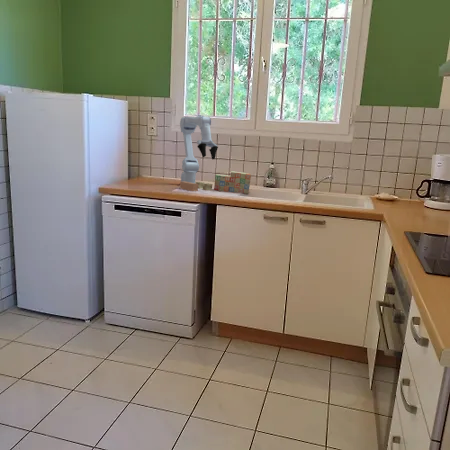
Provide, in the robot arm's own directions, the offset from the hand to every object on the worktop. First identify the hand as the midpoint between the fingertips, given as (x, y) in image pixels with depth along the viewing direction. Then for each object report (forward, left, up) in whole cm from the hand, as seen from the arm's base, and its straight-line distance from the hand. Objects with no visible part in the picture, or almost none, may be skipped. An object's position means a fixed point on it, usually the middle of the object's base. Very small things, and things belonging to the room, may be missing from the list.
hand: (209, 157), depth 252 cm
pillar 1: (-13, +6, -20) cm, 24 cm away
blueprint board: (-9, +2, -20) cm, 23 cm away
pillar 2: (-6, +6, -20) cm, 22 cm away
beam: (-9, -6, -20) cm, 23 cm away
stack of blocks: (+4, +17, -20) cm, 27 cm away
